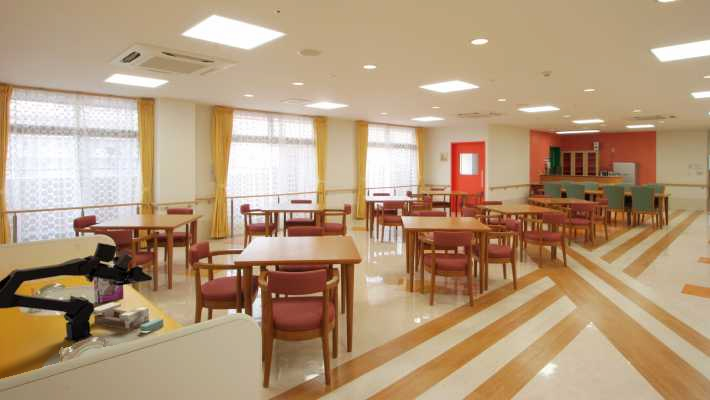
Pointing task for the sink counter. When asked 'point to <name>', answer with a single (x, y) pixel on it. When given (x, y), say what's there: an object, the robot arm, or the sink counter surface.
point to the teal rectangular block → (152, 325)
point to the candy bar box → (106, 291)
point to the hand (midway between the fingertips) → (145, 279)
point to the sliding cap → (106, 309)
